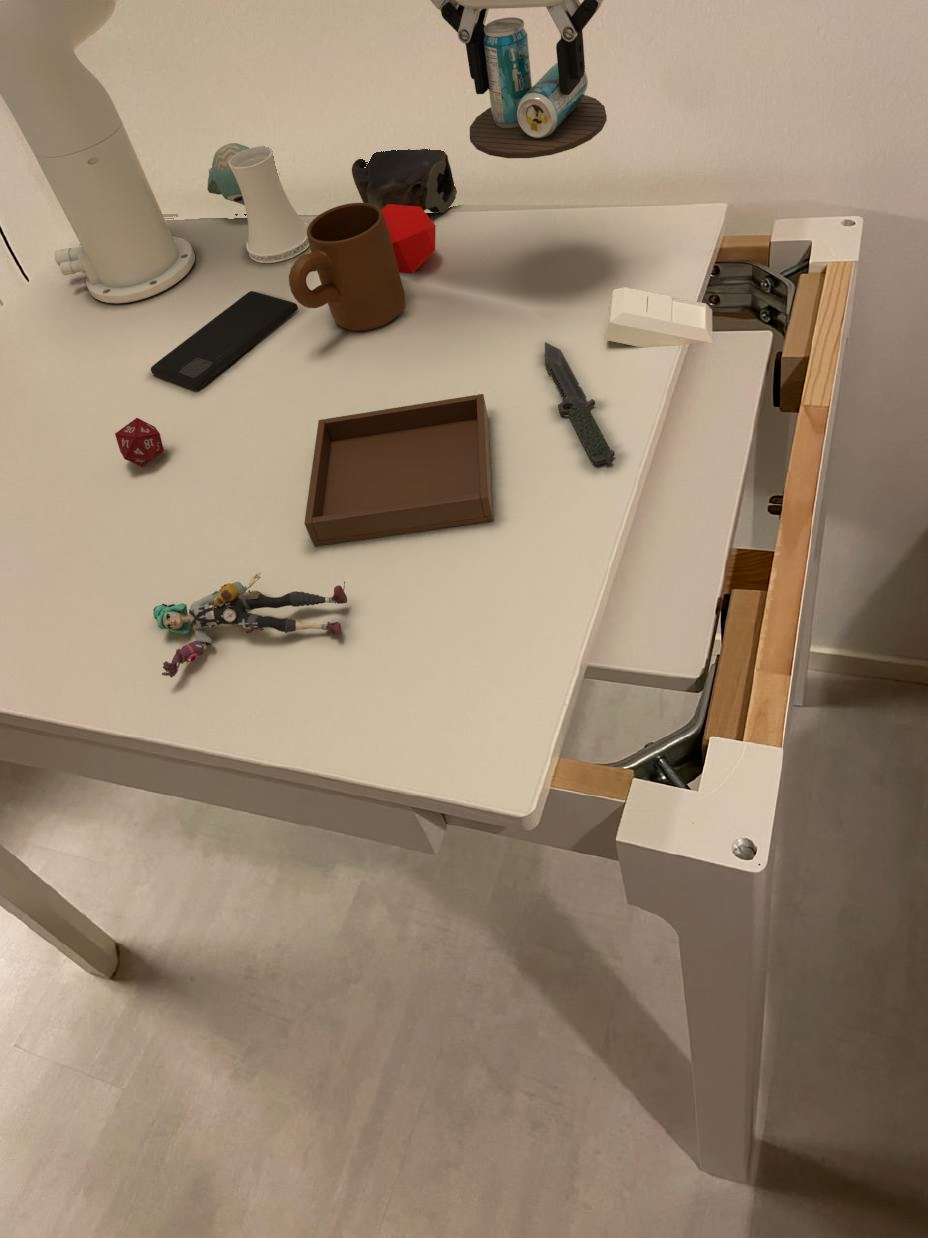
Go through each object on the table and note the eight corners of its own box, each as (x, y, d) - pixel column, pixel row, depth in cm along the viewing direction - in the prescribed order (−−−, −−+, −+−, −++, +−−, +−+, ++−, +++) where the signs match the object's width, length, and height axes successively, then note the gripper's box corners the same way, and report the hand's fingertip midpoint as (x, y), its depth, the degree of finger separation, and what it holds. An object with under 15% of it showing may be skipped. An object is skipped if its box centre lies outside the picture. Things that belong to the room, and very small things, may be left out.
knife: (625, 453, 73) (587, 464, 73) (625, 461, 73) (588, 472, 73) (558, 333, 85) (526, 342, 85) (559, 341, 85) (528, 350, 85)
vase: (322, 226, 108) (294, 137, 101) (300, 261, 104) (270, 171, 96) (263, 229, 110) (231, 143, 103) (239, 264, 106) (205, 176, 98)
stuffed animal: (242, 240, 121) (199, 220, 109) (222, 185, 120) (177, 158, 108) (317, 208, 118) (281, 183, 107) (297, 150, 117) (259, 119, 106)
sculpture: (352, 250, 96) (272, 222, 102) (369, 296, 101) (292, 267, 106) (471, 129, 102) (390, 109, 108) (482, 177, 107) (404, 156, 113)
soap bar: (608, 307, 86) (615, 281, 83) (705, 326, 86) (715, 301, 83) (604, 339, 83) (612, 314, 80) (705, 360, 83) (715, 334, 80)
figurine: (140, 678, 65) (165, 696, 68) (342, 617, 64) (358, 638, 67) (135, 590, 68) (158, 611, 72) (327, 530, 67) (342, 555, 70)
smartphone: (251, 294, 101) (149, 374, 94) (248, 287, 100) (146, 367, 93) (301, 308, 97) (199, 392, 90) (298, 300, 96) (196, 385, 90)
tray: (313, 546, 74) (304, 523, 72) (326, 442, 82) (318, 419, 80) (493, 521, 72) (487, 496, 70) (488, 417, 80) (483, 393, 78)
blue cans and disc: (505, 93, 88) (494, -4, 82) (627, 99, 83) (625, -4, 77) (445, 153, 82) (429, 52, 76) (574, 163, 77) (567, 56, 71)
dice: (118, 472, 85) (97, 438, 82) (148, 440, 87) (129, 405, 84) (150, 479, 83) (130, 444, 80) (180, 447, 85) (161, 411, 82)
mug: (344, 366, 89) (314, 275, 82) (288, 348, 93) (255, 260, 86) (422, 298, 94) (400, 207, 87) (366, 284, 98) (341, 195, 91)
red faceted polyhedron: (452, 269, 99) (382, 296, 101) (434, 207, 99) (364, 235, 101) (437, 248, 92) (363, 277, 94) (418, 182, 92) (344, 211, 94)
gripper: (634, -209, 65) (641, 68, 78) (414, -182, 72) (456, 68, 85) (596, -178, 61) (611, 108, 74) (368, -152, 68) (419, 106, 81)
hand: (528, 85), depth 80 cm, fingers closed on blue cans and disc, 7 cm apart
